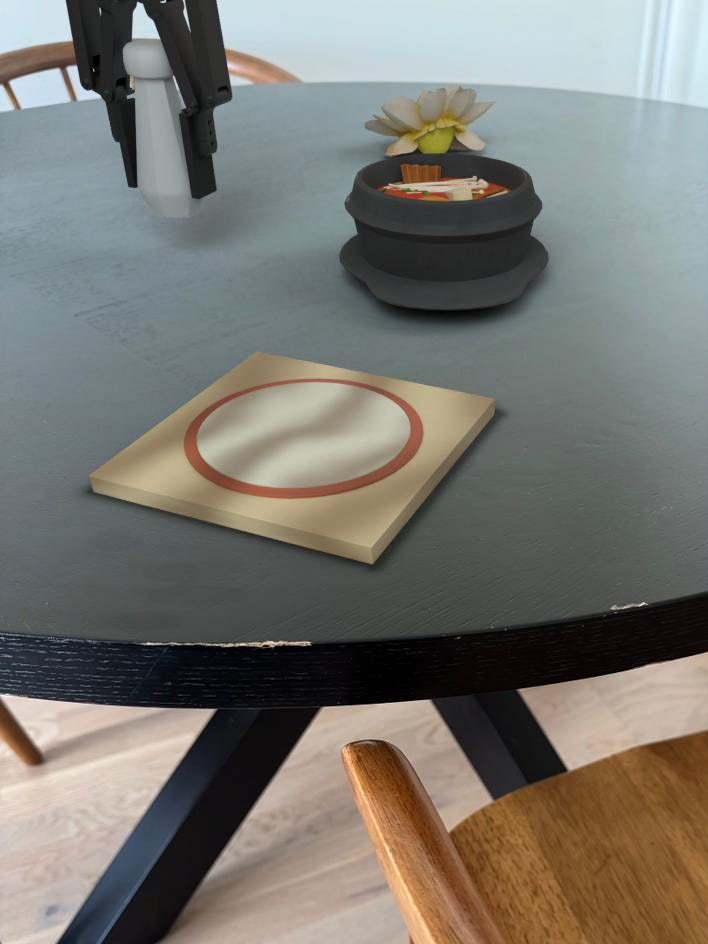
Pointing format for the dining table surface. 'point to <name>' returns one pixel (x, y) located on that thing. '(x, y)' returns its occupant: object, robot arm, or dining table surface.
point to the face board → (301, 454)
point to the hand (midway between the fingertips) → (172, 188)
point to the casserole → (444, 231)
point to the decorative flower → (431, 121)
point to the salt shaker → (159, 132)
